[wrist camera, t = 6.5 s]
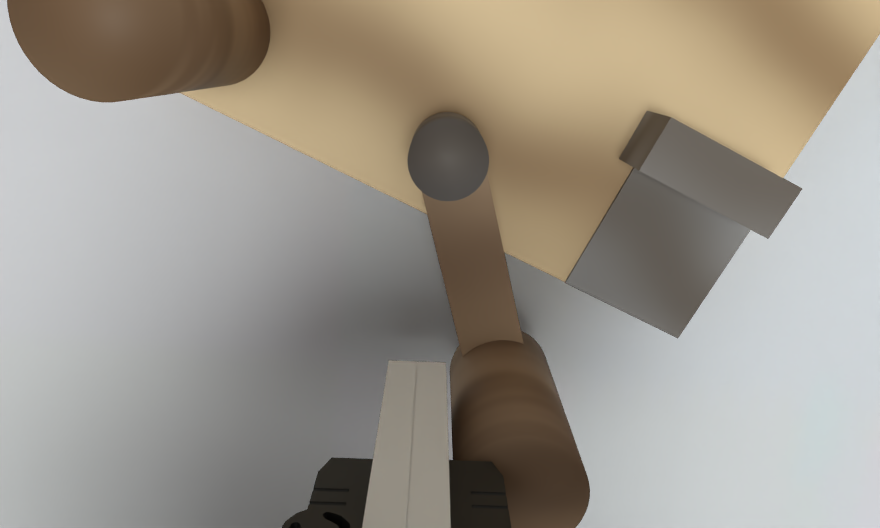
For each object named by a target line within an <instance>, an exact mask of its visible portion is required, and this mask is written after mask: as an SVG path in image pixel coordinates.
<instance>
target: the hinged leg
mask: <svg viewBox="0 0 880 528" xmlns="http://www.w3.org/2000/svg"><path fill="white" fill-rule="evenodd" d="M407 161H408V170H409V173H410V176H411V178H412V180H413V182H414V183H415V185H416V186H417V187H418V189H419V190H421V191H422V195H423V199H424V203H425V207H426V211H427V215H428V219H429V223H430V227H431V231H432V235H433V239H434V243H435V247H436V252H437V256H438V260H439V264H440V268H441V272H442V276H443V280H444V284H445V288H446V292H447V296H448V300H449V304H450V308H451V312H452V316H453V320H454V324H455V328H456V332H457V336H458V340H459V346H458V348H457V349H456V351H455V353H454V355H453V357H452V361H451V365H450V388H451V418H452V448H453V460H463V461H492V463H493V464H494V465H495V466H496V468H497V469H498V470H499V471H500V473H501V474H502V475H503V477H504V484H505V490H506V496H507V503H508V509H509V515H510V522H511V528H576V526H577V525H578V524H579V523H580V521H581V520H582V518H583V516H584V514H585V512H586V509H587V507H588V503H589V497H590V488H589V481H588V478H587V474H586V471H585V469H584V466H583V463H582V460H581V457H580V454H579V451H578V449H577V446H576V443H575V440H574V437H573V434H572V432H571V429H570V426H569V423H568V420H567V417H566V414H565V412H564V409H563V406H562V403H561V400H560V397H559V394H558V392H557V389H556V386H555V383H554V380H553V377H552V374H551V372H550V369H549V366H548V363H547V360H546V357H545V355H544V352H543V350H542V349H541V347H540V345H539V344H538V343H537V342H536V341H535V340H534V339H533V338H532V337H531V336H529V335H528V334H526V333H524V332H522V331H521V329H520V324H519V320H518V315H517V310H516V306H515V301H514V296H513V292H512V287H511V282H510V278H509V273H508V268H507V264H506V259H505V254H504V250H503V245H502V240H501V236H500V231H499V226H498V222H497V217H496V212H495V208H494V203H493V198H492V194H491V189H490V185H489V180H488V175H487V172H488V168H489V153H488V149H487V146H486V144H485V141H484V139H483V137H482V136H481V134H480V132H479V130H478V128H477V127H476V126H475V124H474V123H473V122H472V121H471V120H469V119H468V118H467V117H465V116H463V115H461V114H458V113H454V112H441V113H437V114H434V115H432V116H430V117H428V118H427V119H425V120H424V121H423V122H422V123H421V124H420V125H419V126H418V128H417V129H416V131H415V133H414V136H413V138H412V142H411V145H410V148H409V152H408V159H407Z"/></svg>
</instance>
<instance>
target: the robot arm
mask: <svg viewBox="0 0 880 528" xmlns="http://www.w3.org/2000/svg"><path fill="white" fill-rule="evenodd" d="M282 528H511V522H510V515H509V509H508V503H507V496H506V490H505V484H504V477H503V475H502V474H501V473H500V471H499V470H498V469H497V468H496V466H495V465H494V464H493V463H492V461H463V460H449V450H448V415H447V380H446V362H419V361H391V360H389V362H388V368H387V375H386V381H385V387H384V393H383V400H382V406H381V412H380V419H379V425H378V431H377V437H376V444H375V450H374V456H373V459H355V458H331V459H330V460H329V461H328V462H327V463H326V464H325V465H324V466H323V467H322V468H321V469H320V470H319V471H318V474H317V478H316V481H315V485H314V490H313V492H312V495H311V499H310V504H309V506H308V509H307V510H304V511H302V512H299V513H296V514H295V515H294V516H292V517H291V518H290V519H288V520H287V521H286V522H285V523H284V525H283V526H282Z"/></svg>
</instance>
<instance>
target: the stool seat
mask: <svg viewBox="0 0 880 528" xmlns="http://www.w3.org/2000/svg"><path fill="white" fill-rule="evenodd" d="M7 5H8V12H9V18H10V22H11V25H12V28H13V32H14V34H15V36H16V39H17V41H18V43H19V45H20V47H21V48H22V50H23V52H24V54H25V55H26V56H27V58H28V59H29V60H30V62H31V63H32V64H33V65H34V67H35V68H36V69H37V70H38V71H39V72H40V73H41V74H42V75H43V76H44V77H45V78H47V79H48V80H49V81H50V82H52V83H53V84H54V85H56V86H57V87H59V88H60V89H62V90H64V91H66V92H68V93H70V94H72V95H75V96H77V97H79V98H83V99H87V100H90V101H97V102H118V101H126V100H132V99H139V98H146V97H153V96H160V95H166V94H173V93H181V94H183V95H185V96H187V97H190V98H192V99H194V100H196V101H198V102H200V103H202V104H204V105H206V106H208V107H210V108H212V109H214V110H216V111H218V112H220V113H222V114H224V115H226V116H228V117H230V118H232V119H234V120H236V121H238V122H240V123H242V124H244V125H246V126H249V127H251V128H253V129H255V130H257V131H259V132H261V133H263V134H265V135H267V136H269V137H271V138H273V139H275V140H277V141H279V142H281V143H283V144H285V145H287V146H289V147H291V148H293V149H295V150H297V151H299V152H301V153H303V154H305V155H307V156H310V157H312V158H314V159H316V160H318V161H320V162H322V163H324V164H326V165H328V166H330V167H332V168H334V169H336V170H338V171H340V172H342V173H344V174H346V175H348V176H350V177H352V178H354V179H356V180H358V181H360V182H362V183H364V184H366V185H369V186H371V187H373V188H375V189H377V190H379V191H381V192H383V193H385V194H387V195H389V196H391V197H393V198H395V199H397V200H399V201H401V202H403V203H405V204H407V205H409V206H411V207H413V208H415V209H417V210H419V211H421V212H423V213H425V214H427V211H426V207H425V203H424V199H423V195H422V191H421V190H419V189H418V187H417V186H416V185H415V183H414V182H413V180H412V178H411V176H410V173H409V170H408V161H407V159H408V152H409V148H410V145H411V142H412V138H413V136H414V133H415V131H416V129H417V128H418V126H419V125H420V124H421V123H422V122H423V121H424V120H425V119H427V118H428V117H430V116H432V115H434V114H437V113H441V112H454V113H458V114H461V115H463V116H465V117H467V118H468V119H469V120H471V121H472V122H473V123H474V124H475V126H476V127H477V128H478V130H479V132H480V134H481V136H482V137H483V139H484V141H485V144H486V146H487V149H488V153H489V168H488V172H487V175H488V180H489V185H490V189H491V194H492V198H493V203H494V208H495V212H496V217H497V222H498V226H499V231H500V236H501V240H502V245H503V250H504V252H505V253H507V254H509V255H511V256H513V257H515V258H517V259H519V260H521V261H523V262H525V263H527V264H529V265H531V266H533V267H535V268H537V269H539V270H541V271H543V272H545V273H548V274H550V275H552V276H554V277H556V278H558V279H560V280H562V281H564V282H565V283H566V284H568V285H570V286H572V287H574V288H576V289H578V290H580V291H582V292H585V293H587V294H589V295H591V296H593V297H595V298H597V299H599V300H601V301H603V302H605V303H607V304H609V305H611V306H613V307H615V308H617V309H619V310H621V311H623V312H625V313H627V314H629V315H631V316H633V317H635V318H637V319H639V320H641V321H644V322H646V323H648V324H650V325H652V326H654V327H656V328H658V329H660V330H662V331H664V332H666V333H668V334H670V335H672V336H674V337H676V338H678V337H679V336H680V334H681V333H682V331H683V330H684V328H685V327H686V325H687V324H688V323H689V321H690V320H691V318H692V317H693V315H694V314H695V312H696V311H697V309H698V308H699V306H700V305H701V303H702V302H703V300H704V299H705V297H706V296H707V294H708V293H709V291H710V290H711V288H712V287H713V285H714V284H715V282H716V281H717V279H718V278H719V276H720V275H721V273H722V272H723V270H724V269H725V267H726V266H727V264H728V263H729V261H730V260H731V258H732V257H733V255H734V254H735V252H736V251H737V249H738V248H739V246H740V245H741V243H742V242H743V240H744V239H745V237H746V236H747V234H748V233H749V232H750V230H752V231H754V232H756V233H758V234H760V235H762V236H764V237H766V238H767V239H768V238H769V237H770V235H771V234H772V233H773V231H774V230H775V228H776V227H777V225H778V224H779V222H780V221H781V219H782V218H783V216H784V215H785V213H786V212H787V211H788V209H789V208H790V206H791V205H792V203H793V202H794V200H795V199H796V197H797V196H798V194H799V193H800V191H801V190H802V188H800V187H798V186H797V185H795V184H793V183H791V182H789V181H787V180H786V179H784V176H785V175H786V173H787V172H788V170H789V169H790V167H791V166H792V164H793V163H794V161H795V160H796V158H797V157H798V155H799V154H800V152H801V151H802V149H803V148H804V146H805V145H806V143H807V142H808V140H809V139H810V137H811V136H812V134H813V133H814V131H815V130H816V128H817V127H818V125H819V124H820V122H821V121H822V119H823V118H824V116H825V115H826V113H827V112H828V110H829V109H830V107H831V106H832V104H833V103H834V101H835V100H836V98H837V97H838V95H839V94H840V92H841V91H842V89H843V88H844V86H845V85H846V83H847V82H848V80H849V79H850V77H851V76H852V74H853V73H854V71H855V70H856V69H857V67H858V66H859V64H860V63H861V61H862V60H863V58H864V57H865V55H866V54H867V52H868V51H869V49H870V48H871V46H872V45H873V43H874V42H875V40H876V39H877V37H878V36H879V34H880V0H7Z"/></svg>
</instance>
